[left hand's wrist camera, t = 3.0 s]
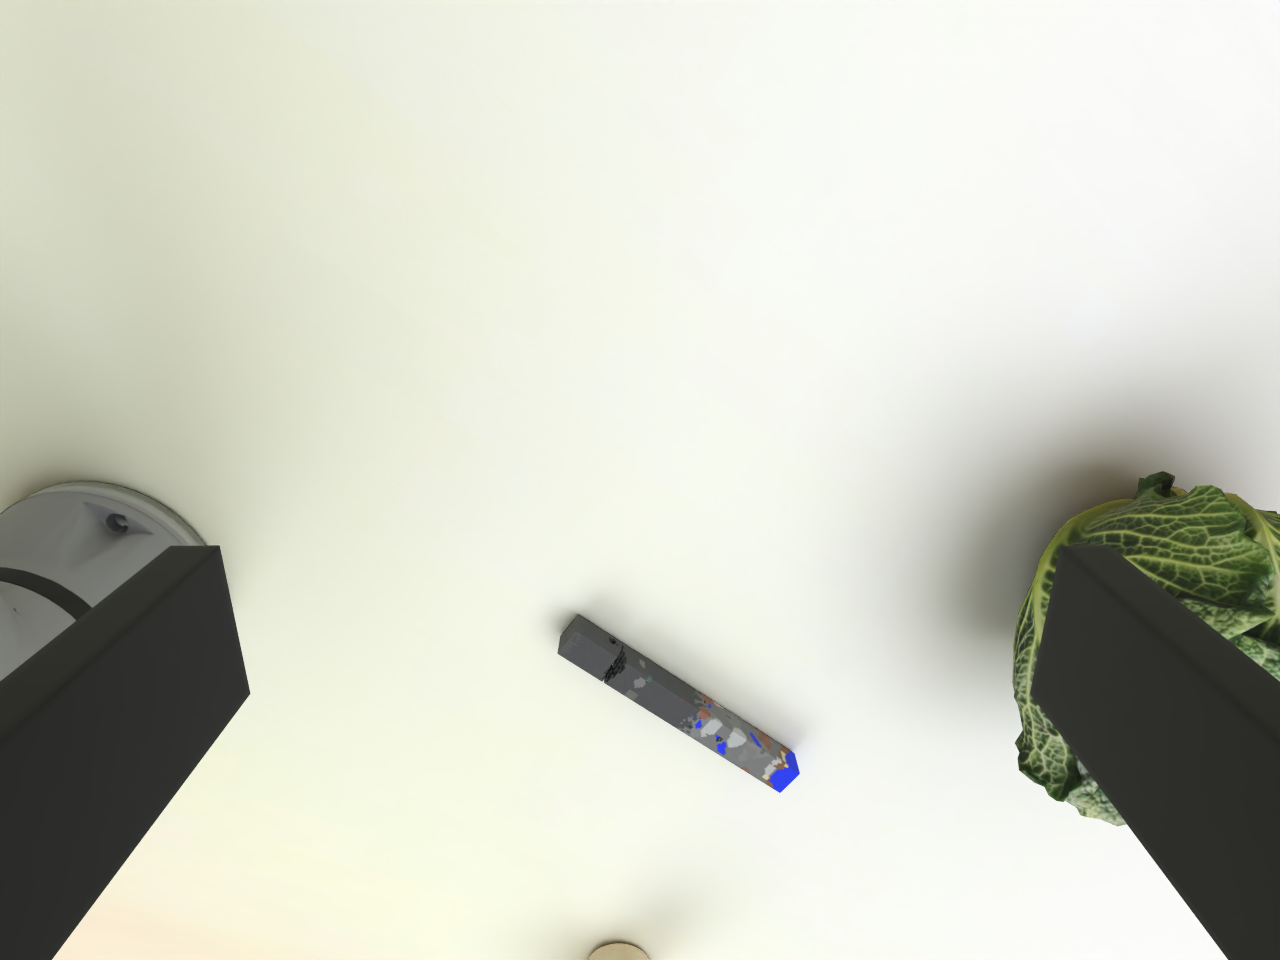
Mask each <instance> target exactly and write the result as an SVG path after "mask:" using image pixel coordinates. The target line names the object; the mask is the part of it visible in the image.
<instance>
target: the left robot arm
mask: <svg viewBox="0 0 1280 960" xmlns="http://www.w3.org/2000/svg"><path fill="white" fill-rule="evenodd" d="M249 695H250V690H249V685H248V680H247V676H246V671H245V666H244V661H243V656H242V652H241V647H240V642H239V637H238V632H237V627H236V623H235V618H234V613H233V608H232V603H231V599H230V594H229V589H228V584H227V579H226V574H225V570H224V565H223V560H222V555H221V550H220V546H206V545H205V544H204V543H203V541H202V540H201V539H200V537H199V536H198V535H197V534H196V533H195V532H194V530H193V529H192V528H191V527H190V526H189V525H188V524H187V523H186V522H184V521H183V520H182V519H181V518H180V517H179V516H177V515H176V514H175V513H173V512H172V511H171V510H169V509H168V508H166V507H165V506H163V505H162V504H160V503H158V502H157V501H155V500H153V499H151V498H149V497H147V496H145V495H143V494H140V493H138V492H135V491H133V490H130V489H127V488H124V487H120V486H116V485H112V484H106V483H100V482H87V481H85V482H69V483H62V484H58V485H53V486H50V487H47V488H44V489H42V490H40V491H38V492H36V493H34V494H32V495H30V496H28V497H26V498H24V499H22V500H20V501H18V502H17V503H15V504H13V505H12V506H10V507H9V508H7V509H6V510H5V511H3V512H2V513H1V514H0V960H52V959H53V957H54V956H55V955H56V953H57V952H58V951H59V949H60V948H61V947H62V945H63V944H64V943H65V941H66V940H67V939H68V937H69V936H70V935H71V933H72V932H73V931H74V929H75V928H76V927H77V925H78V924H79V923H80V921H81V920H82V919H83V917H84V916H85V914H86V913H87V912H88V910H89V909H90V908H91V906H92V905H93V904H94V902H95V901H96V900H97V898H98V897H99V896H100V894H101V893H102V892H103V890H104V889H105V888H106V886H107V885H108V884H109V882H110V881H111V880H112V878H113V877H114V876H115V874H116V873H117V872H118V870H119V869H120V868H121V866H122V865H123V864H124V862H125V861H126V860H127V858H128V857H129V856H130V854H131V853H132V851H133V850H134V849H135V847H136V846H137V845H138V843H139V842H140V841H141V839H142V838H143V837H144V835H145V834H146V833H147V831H148V830H149V829H150V827H151V826H152V825H153V823H154V822H155V821H156V819H157V818H158V817H159V815H160V814H161V813H162V811H163V810H164V809H165V807H166V806H167V805H168V803H169V802H170V801H171V799H172V798H173V797H174V795H175V794H176V793H177V791H178V790H179V789H180V787H181V786H182V784H183V783H184V782H185V780H186V779H187V778H188V776H189V775H190V774H191V772H192V771H193V770H194V768H195V767H196V766H197V764H198V763H199V762H200V760H201V759H202V758H203V756H204V755H205V754H206V752H207V751H208V750H209V748H210V747H211V746H212V744H213V743H214V742H215V740H216V739H217V738H218V736H219V735H220V734H221V732H222V731H223V730H224V728H225V727H226V726H227V724H228V723H229V722H230V720H231V719H232V717H233V716H234V715H235V713H236V712H237V711H238V709H239V708H240V707H241V705H242V704H243V703H244V701H245V700H246V699H247V697H248V696H249ZM1030 695H1031V696H1032V697H1033V699H1034V700H1035V701H1036V703H1037V704H1038V705H1039V707H1040V708H1041V709H1042V711H1043V712H1044V713H1045V715H1046V716H1047V717H1048V719H1049V720H1050V722H1051V723H1052V724H1053V726H1054V727H1055V728H1056V730H1057V731H1058V732H1059V734H1060V735H1061V736H1062V738H1063V739H1064V740H1065V742H1066V743H1067V744H1068V746H1069V747H1070V748H1071V750H1072V751H1073V752H1074V754H1075V755H1076V756H1077V758H1078V759H1079V760H1080V762H1081V763H1082V764H1083V766H1084V767H1085V768H1086V770H1087V771H1088V772H1089V774H1090V775H1091V776H1092V778H1093V779H1094V780H1095V782H1096V783H1097V784H1098V786H1099V787H1100V789H1101V790H1102V791H1103V793H1104V794H1105V795H1106V797H1107V798H1108V799H1109V801H1110V802H1111V803H1112V805H1113V806H1114V807H1115V809H1116V810H1117V811H1118V813H1119V814H1120V815H1121V817H1122V818H1123V819H1124V821H1125V822H1126V823H1127V825H1128V826H1129V827H1130V829H1131V830H1132V831H1133V833H1134V834H1135V835H1136V837H1137V838H1138V839H1139V841H1140V842H1141V843H1142V845H1143V846H1144V847H1145V849H1146V850H1147V851H1148V853H1149V854H1150V856H1151V857H1152V858H1153V860H1154V861H1155V862H1156V864H1157V865H1158V866H1159V868H1160V869H1161V870H1162V872H1163V873H1164V874H1165V876H1166V877H1167V878H1168V880H1169V881H1170V882H1171V884H1172V885H1173V886H1174V888H1175V889H1176V890H1177V892H1178V893H1179V894H1180V896H1181V897H1182V898H1183V900H1184V901H1185V902H1186V904H1187V905H1188V906H1189V908H1190V909H1191V910H1192V912H1193V913H1194V914H1195V916H1196V917H1197V919H1198V920H1199V921H1200V923H1201V924H1202V925H1203V927H1204V928H1205V929H1206V931H1207V932H1208V933H1209V935H1210V936H1211V937H1212V939H1213V940H1214V941H1215V943H1216V944H1217V945H1218V947H1219V948H1220V949H1221V951H1222V952H1223V953H1224V955H1225V956H1226V957H1227V959H1228V960H1280V681H1279V680H1277V679H1276V678H1275V677H1274V676H1272V675H1271V674H1270V673H1269V672H1267V671H1266V670H1265V669H1264V668H1262V667H1261V666H1260V665H1259V664H1257V663H1256V662H1255V661H1254V660H1252V659H1251V658H1250V657H1249V656H1247V655H1246V654H1245V653H1244V652H1242V651H1241V650H1240V649H1239V648H1237V647H1236V646H1235V645H1234V644H1232V643H1231V642H1230V641H1229V640H1227V639H1226V638H1225V637H1224V636H1222V635H1221V634H1220V633H1219V632H1217V631H1216V630H1215V629H1213V628H1212V627H1211V626H1210V625H1208V624H1207V623H1206V622H1205V621H1203V620H1202V619H1201V618H1200V617H1198V616H1197V615H1196V614H1195V613H1193V612H1192V611H1191V610H1190V609H1188V608H1187V607H1186V606H1185V605H1183V604H1182V603H1181V602H1180V601H1178V600H1177V599H1176V598H1175V597H1173V596H1172V595H1171V594H1170V593H1168V592H1167V591H1166V590H1165V589H1163V588H1162V587H1161V586H1160V585H1158V584H1157V583H1156V582H1155V581H1153V580H1152V579H1151V578H1150V577H1148V576H1147V575H1146V574H1144V573H1143V572H1142V571H1141V570H1139V569H1138V568H1137V567H1136V566H1134V565H1133V564H1132V563H1131V562H1129V561H1128V560H1127V559H1126V558H1124V557H1123V556H1122V555H1121V554H1119V553H1118V552H1117V551H1116V550H1114V549H1113V548H1112V547H1111V546H1060V550H1059V555H1058V560H1057V565H1056V570H1055V574H1054V579H1053V584H1052V589H1051V594H1050V599H1049V603H1048V608H1047V613H1046V618H1045V623H1044V627H1043V632H1042V637H1041V642H1040V647H1039V652H1038V656H1037V661H1036V666H1035V671H1034V676H1033V680H1032V685H1031V690H1030Z"/></svg>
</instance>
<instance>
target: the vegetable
mask: <svg viewBox="0 0 1280 960" xmlns="http://www.w3.org/2000/svg"><path fill="white" fill-rule="evenodd" d="M1174 479H1175V476H1173V475H1171V474H1169V473H1166V472H1163V471H1162V472H1159V473H1156V474H1153V475H1149V476H1148V477H1147V478H1146V479H1143V478H1139V483H1138V492H1137V494H1136V496H1135V499H1119V500H1114V501H1108V502H1105V503H1103V504H1100V505H1098V506H1095V507H1093V508H1090V509H1088V510H1085V511H1083V512H1081V513H1080V514H1078V515H1076V516H1074V517H1073V518H1071V519H1069V520H1068V521H1067V522H1066V523H1065V524H1064V525H1063V526H1062V527H1061V528H1060V529H1059V531H1058V532H1057V533H1056V535H1055V536H1054V537H1053V539H1052V540H1051V541H1050V543H1049V544H1048V546H1047V548H1046V549H1045V551H1044V553H1043V555H1042V556H1041V558H1040V560H1039V564H1038V568H1037V572H1036V574H1035V577H1034V580H1033V582H1032V585H1031V586H1030V588H1029V590H1028V592H1027V596H1026V598H1025V600H1024V603H1023V605H1022V607H1021V609H1020V611H1019V614H1018V621H1017V627H1016V633H1015V639H1014V646H1013V681H1012V683H1013V687H1014V691H1015V693H1014V698H1015V700H1016V702H1017V704H1018V707H1019V712H1020V717H1021V722H1022V727H1023V731H1022V732H1021V734H1020V735H1019V737H1018V739H1017V740H1016V742H1015V744H1016V746H1017V748H1018V750H1019V752H1020V753H1019V756H1018V765H1019V770H1020V771H1021V772H1022V773H1023V774H1025V775H1026V776H1027V777H1028V778H1030V779H1031V780H1032V781H1033V782H1035V783H1037V784H1039V785H1042V786H1044V787H1045V789H1046V791H1047V793H1048V795H1049V796H1050V797H1052V798H1053V799H1055V800H1056V801H1062V802H1064V801H1067V802H1068V803H1070V804H1072V805H1073V806H1075V807H1076V808H1077V809H1078V811H1079V813H1080V815H1082V816H1085V817H1091V818H1097V819H1102V820H1104V821H1106V822H1108V823H1111V824H1113V825H1116V826H1121V825H1125V824H1127V823H1126V822H1125V821H1124V819H1123V818H1122V817H1121V815H1120V814H1119V813H1118V811H1117V810H1116V809H1115V807H1114V806H1113V805H1112V803H1111V802H1110V801H1109V799H1108V798H1107V797H1106V795H1105V794H1104V793H1103V791H1102V790H1101V789H1100V787H1099V786H1098V784H1097V783H1096V782H1095V780H1094V779H1093V778H1092V776H1091V775H1090V774H1089V772H1088V771H1087V770H1086V768H1085V767H1084V766H1083V764H1082V763H1081V762H1080V760H1079V759H1078V758H1077V756H1076V755H1075V754H1074V752H1073V751H1072V750H1071V748H1070V747H1069V746H1068V744H1067V743H1066V742H1065V740H1064V739H1063V738H1062V736H1061V735H1060V734H1059V732H1058V731H1057V730H1056V728H1055V727H1054V726H1053V724H1052V723H1051V722H1050V720H1049V719H1048V717H1047V716H1046V715H1045V713H1044V712H1043V711H1042V709H1041V708H1040V707H1039V705H1038V704H1037V703H1036V701H1035V700H1034V699H1033V697H1032V696H1031V695H1030V690H1031V685H1032V680H1033V676H1034V671H1035V666H1036V661H1037V656H1038V652H1039V647H1040V642H1041V637H1042V632H1043V627H1044V623H1045V618H1046V613H1047V608H1048V603H1049V599H1050V594H1051V589H1052V584H1053V579H1054V574H1055V570H1056V565H1057V560H1058V555H1059V550H1060V546H1111V547H1112V548H1113V549H1114V550H1116V551H1117V552H1118V553H1119V554H1121V555H1122V556H1123V557H1124V558H1126V559H1127V560H1128V561H1129V562H1131V563H1132V564H1133V565H1134V566H1136V567H1137V568H1138V569H1139V570H1141V571H1142V572H1143V573H1144V574H1146V575H1147V576H1148V577H1150V578H1151V579H1152V580H1153V581H1155V582H1156V583H1157V584H1158V585H1160V586H1161V587H1162V588H1163V589H1165V590H1166V591H1167V592H1168V593H1170V594H1171V595H1172V596H1173V597H1175V598H1176V599H1177V600H1178V601H1180V602H1181V603H1182V604H1183V605H1185V606H1186V607H1187V608H1188V609H1190V610H1191V611H1192V612H1193V613H1195V614H1196V615H1197V616H1198V617H1200V618H1201V619H1202V620H1203V621H1205V622H1206V623H1207V624H1208V625H1210V626H1211V627H1212V628H1213V629H1215V630H1216V631H1217V632H1219V633H1220V634H1221V635H1222V636H1224V637H1225V638H1226V639H1227V640H1229V641H1230V642H1231V643H1232V644H1234V645H1235V646H1236V647H1237V648H1239V649H1240V650H1241V651H1242V652H1244V653H1245V654H1246V655H1247V656H1249V657H1250V658H1251V659H1252V660H1254V661H1255V662H1256V663H1257V664H1259V665H1260V666H1261V667H1262V668H1264V669H1265V670H1266V671H1267V672H1269V673H1270V674H1271V675H1272V676H1274V677H1275V678H1276V679H1277V680H1279V681H1280V514H1277V512H1276V511H1263V510H1257V509H1254V508H1253V507H1251V506H1250V505H1249V504H1248V503H1246V502H1245V501H1244V500H1242V499H1241V498H1240V497H1238V496H1237V495H1236V494H1231V493H1223V492H1222V490H1221V489H1219V488H1216V487H1214V486H1211V485H1209V486H1195V487H1194V488H1193V489H1192V490H1191V491H1190V492H1189V493H1187V492H1186V491H1184V490H1183V489H1180V488H1176V487H1172V484H1173V482H1174Z"/></svg>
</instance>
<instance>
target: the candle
mask: <svg viewBox="0 0 1280 960" xmlns="http://www.w3.org/2000/svg"><path fill="white" fill-rule="evenodd" d="M588 960H649V958H648V956H647V955H646V954H645V953H644V952H643V951H642V950H640V949H639V948H637V947H635V946H632V945H628V944H622V943H616V944H609V945H605V946H603V947H600V948H598V949H597V950H596V951H594V952H593V953H592V954H591V956H590V957H589V959H588Z"/></svg>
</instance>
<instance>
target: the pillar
mask: <svg viewBox="0 0 1280 960" xmlns="http://www.w3.org/2000/svg"><path fill="white" fill-rule="evenodd" d="M558 654H559V655H561V656H562V657H564V658H565V659H567V660H569V661H570V662H572V663H573V664H575V665H577V666H578V667H580V668H581V669H583V670H585V671H586V672H588V673H589V674H591V675H593V676H594V677H596V678H597V679H599V680H601V681H603V680H604V683H605V684H607V685H609V686H610V687H612V688H613V689H615V690H617V691H618V692H620V693H621V694H623V695H625V696H626V697H628V698H629V699H631V700H632V701H634V702H636V703H637V704H639V705H640V706H642V707H644V708H645V709H647V710H648V711H650V712H652V713H653V714H655V715H656V716H658V717H660V718H661V719H663V720H664V721H666V722H668V723H669V724H671V725H672V726H674V727H676V728H677V729H679V730H680V731H682V732H684V733H685V734H687V735H688V736H690V737H692V738H693V739H695V740H696V741H698V742H700V743H701V744H703V745H704V746H706V747H708V748H709V749H711V750H712V751H714V752H716V753H717V754H719V755H720V756H722V757H724V758H725V759H727V760H728V761H730V762H731V763H733V764H735V765H736V766H738V767H739V768H741V769H743V770H744V771H746V772H747V773H749V774H751V775H752V776H754V777H755V778H757V779H759V780H760V781H762V782H763V783H765V784H767V785H768V786H770V787H771V788H773V789H775V790H776V791H778V792H779V793H780V792H782V791H783V790H784V789H785V788H786V787H787V786H788V785H789V784H790V783H791V782H792V781H793V780H794V779H795V778H796V777H797V776H798V775H799V774H800V773H799V769H798V765H797V761H796V758H795V754H794V753H793V752H792V751H790V750H788V749H787V748H785V747H784V746H782V745H781V744H779V743H778V742H776V741H774V740H773V739H771V738H770V737H768V736H767V735H765V734H764V733H762V732H760V731H759V730H757V729H756V728H754V727H753V726H751V725H750V724H748V723H746V722H745V721H743V720H742V719H740V718H739V717H737V716H736V715H734V714H732V713H731V712H729V711H728V710H726V709H725V708H723V707H722V706H720V705H719V704H717V703H715V702H714V701H712V700H711V699H709V698H708V697H706V696H705V695H703V694H701V693H700V692H698V691H697V690H695V689H694V688H692V687H691V686H689V685H687V684H686V683H684V682H683V681H681V680H680V679H678V678H677V677H675V676H673V675H672V674H670V673H669V672H667V671H666V670H664V669H663V668H661V667H659V666H658V665H656V664H655V663H653V662H652V661H650V660H649V659H647V658H645V657H644V656H642V655H641V654H639V653H638V652H636V651H635V650H633V649H631V648H630V647H628V646H627V645H625V644H624V643H622V642H621V641H619V640H617V639H616V638H614V637H613V636H611V635H610V634H608V633H607V632H605V631H603V630H602V629H600V628H599V627H597V626H596V625H594V624H593V623H591V622H589V621H588V620H586V619H585V618H583V617H582V616H580V615H579V614H578V616H577V617H576V618H575V619H574V620H573V622H572V623H571V624H570V625H569V626H568V628H567V629H566V630H565V631H564V633H563V634H562V635H561V636H560V642H559V648H558ZM613 662H614V665H613V666H612V663H613Z"/></svg>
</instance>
